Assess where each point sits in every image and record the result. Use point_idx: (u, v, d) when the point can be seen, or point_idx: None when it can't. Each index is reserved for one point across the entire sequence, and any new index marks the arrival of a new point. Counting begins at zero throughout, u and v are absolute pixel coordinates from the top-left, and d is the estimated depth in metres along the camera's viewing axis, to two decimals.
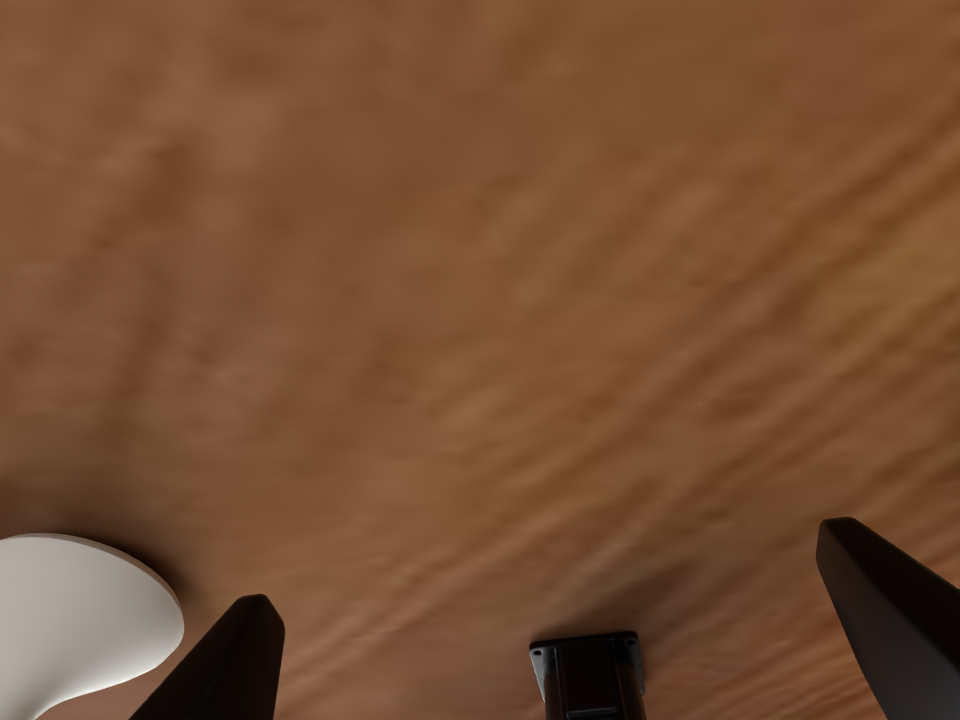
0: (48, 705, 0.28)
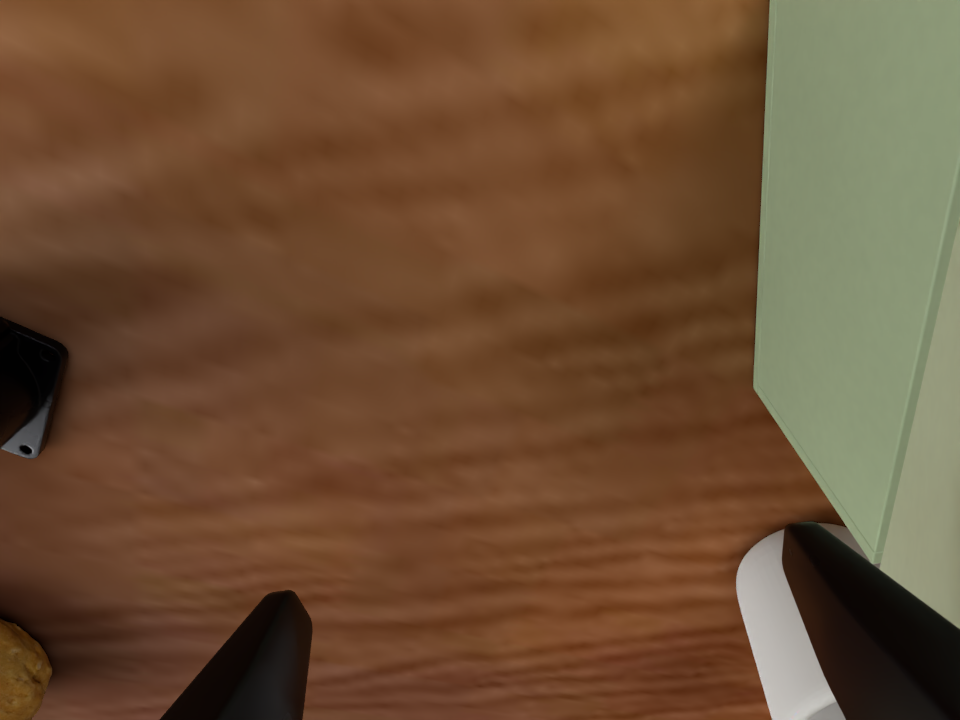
0: None
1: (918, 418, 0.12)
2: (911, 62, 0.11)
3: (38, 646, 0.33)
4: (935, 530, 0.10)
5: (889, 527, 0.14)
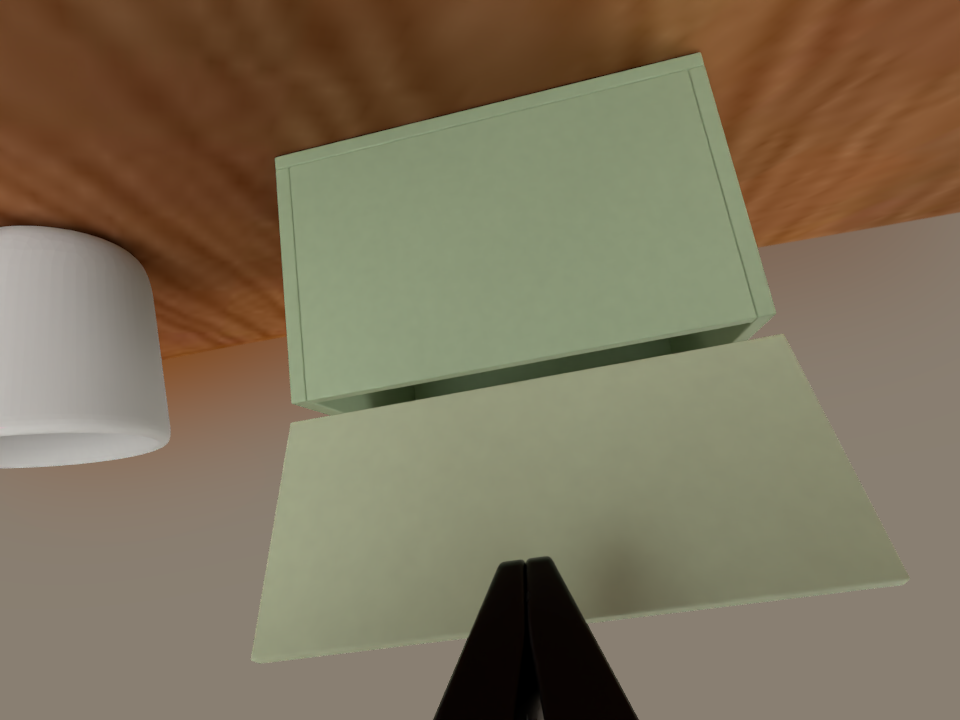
0: None
1: (488, 399, 0.16)
2: (700, 265, 0.16)
3: None
4: (485, 493, 0.14)
5: (362, 411, 0.17)
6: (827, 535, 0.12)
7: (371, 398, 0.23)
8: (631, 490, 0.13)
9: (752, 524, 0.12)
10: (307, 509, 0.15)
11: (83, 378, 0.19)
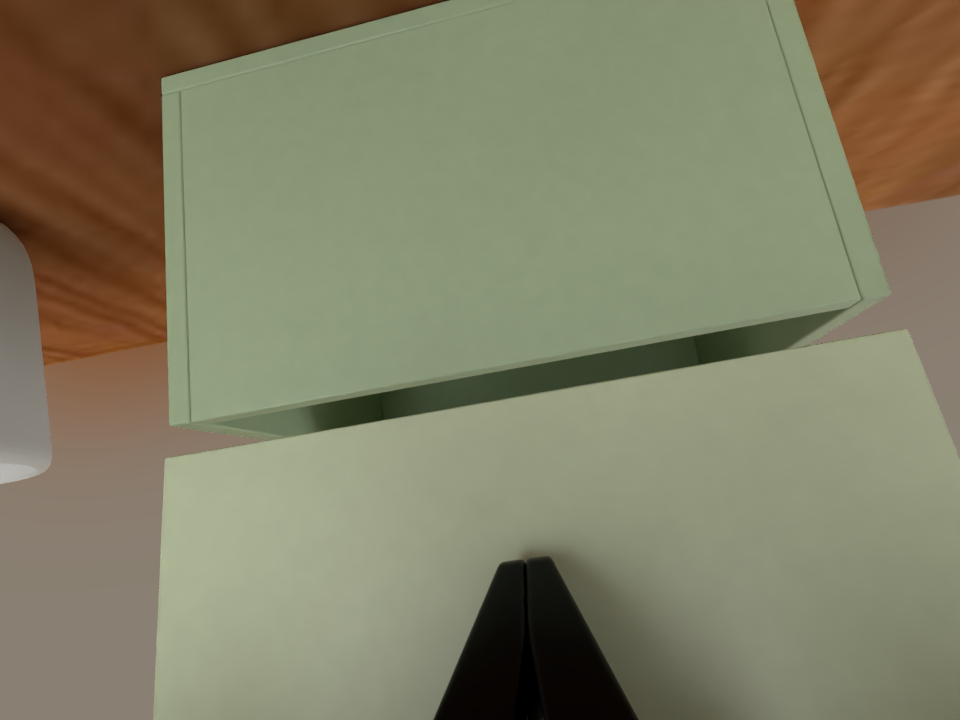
0: None
1: (454, 430, 0.11)
2: (771, 221, 0.11)
3: None
4: (457, 592, 0.10)
5: (268, 443, 0.11)
6: None
7: (312, 409, 0.18)
8: (672, 597, 0.09)
9: (851, 663, 0.09)
10: (202, 606, 0.11)
11: None
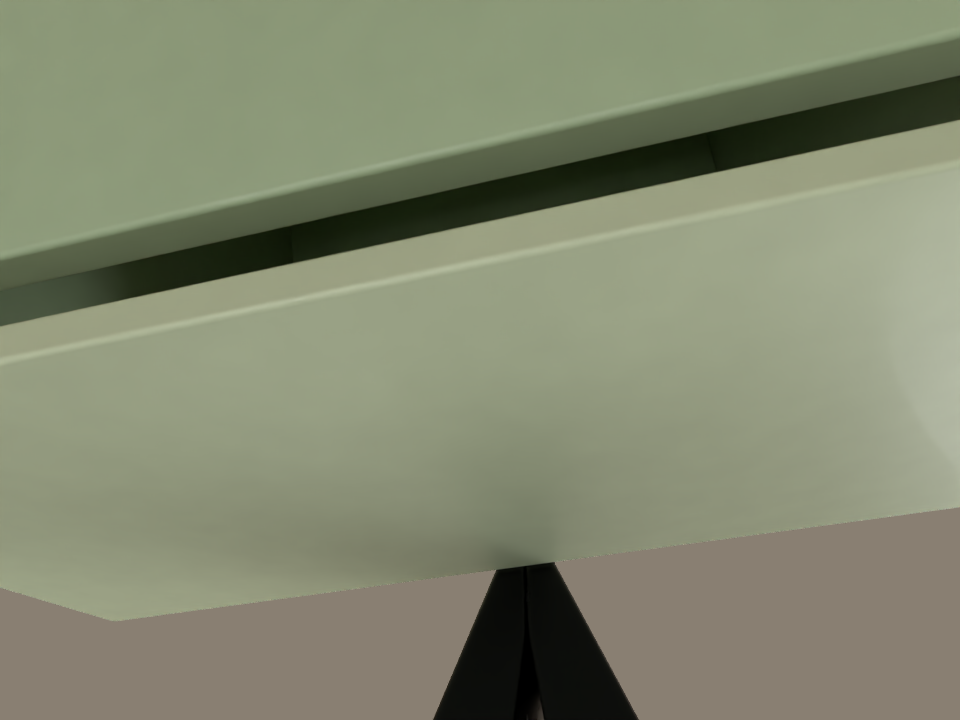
0: None
1: (264, 352, 0.04)
2: None
3: None
4: (366, 500, 0.06)
5: None
6: None
7: None
8: (681, 472, 0.06)
9: (869, 482, 0.07)
10: None
11: None
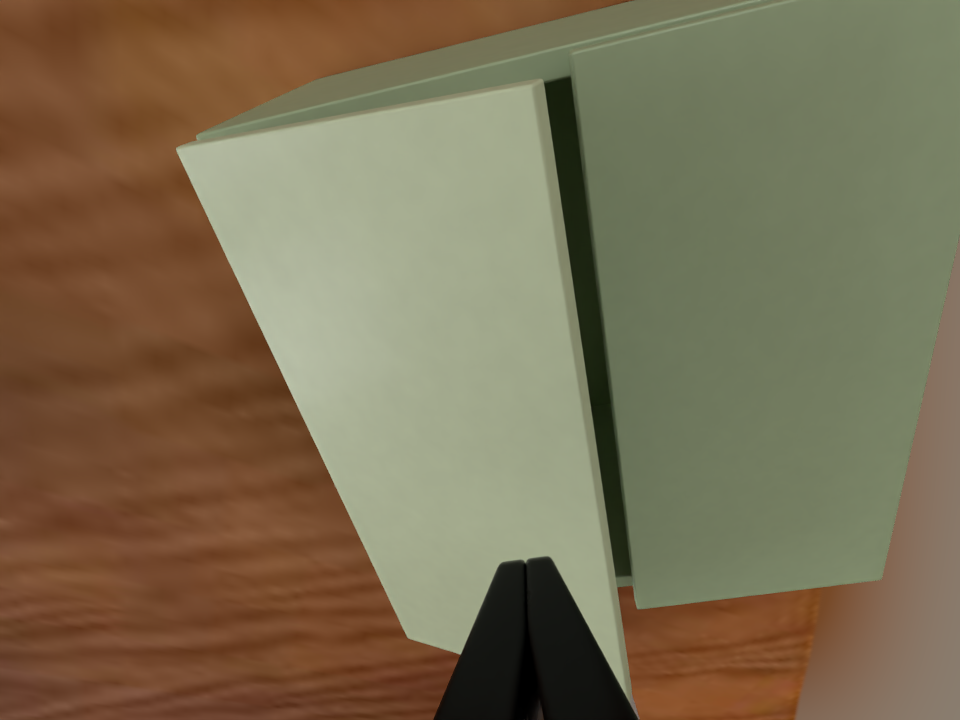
0: None
1: (351, 494, 0.13)
2: None
3: None
4: (459, 522, 0.12)
5: (386, 590, 0.15)
6: (475, 185, 0.08)
7: None
8: (439, 395, 0.10)
9: (468, 276, 0.09)
10: None
11: None
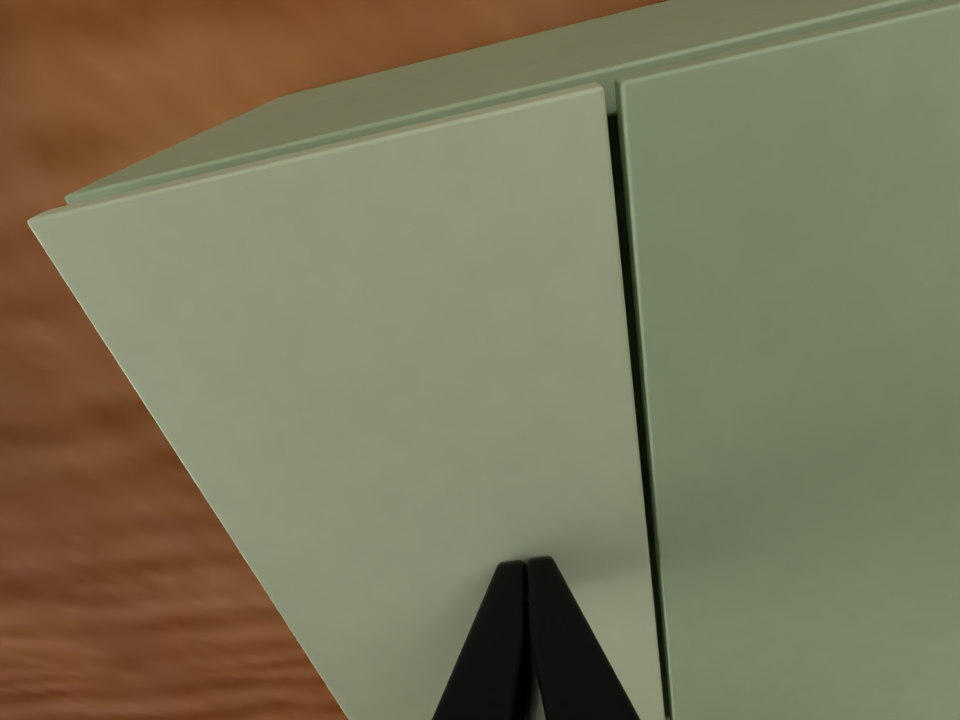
0: None
1: (319, 638, 0.10)
2: None
3: None
4: None
5: None
6: (518, 218, 0.06)
7: None
8: (454, 485, 0.08)
9: (502, 332, 0.07)
10: None
11: None
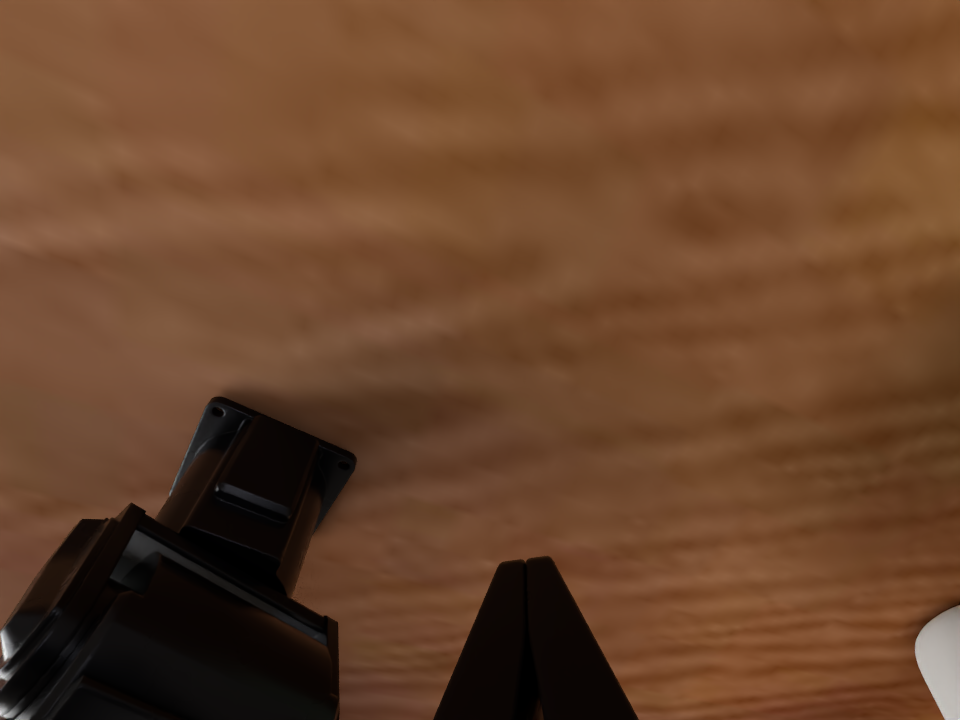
0: None
1: None
2: None
3: None
4: None
5: None
6: None
7: None
8: None
9: None
10: None
11: None
